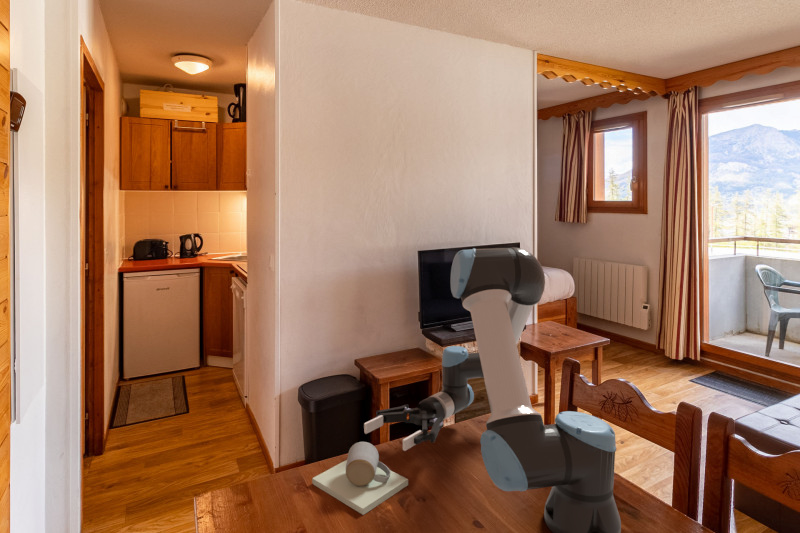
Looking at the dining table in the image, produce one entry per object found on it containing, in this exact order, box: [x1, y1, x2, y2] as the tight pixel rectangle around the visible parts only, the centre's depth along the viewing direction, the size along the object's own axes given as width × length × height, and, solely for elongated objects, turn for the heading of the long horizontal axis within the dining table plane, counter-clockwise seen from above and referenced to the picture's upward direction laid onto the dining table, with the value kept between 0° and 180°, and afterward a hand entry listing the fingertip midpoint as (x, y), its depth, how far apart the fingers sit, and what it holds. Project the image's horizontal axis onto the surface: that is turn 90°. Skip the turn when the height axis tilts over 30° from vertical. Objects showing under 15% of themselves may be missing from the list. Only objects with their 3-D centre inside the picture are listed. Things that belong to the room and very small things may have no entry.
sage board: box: [311, 459, 409, 516], centre depth 117 cm, size 18×15×2 cm
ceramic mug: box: [346, 441, 391, 486], centre depth 116 cm, size 11×8×8 cm
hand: (383, 436), depth 122 cm, fingers open, 13 cm apart
